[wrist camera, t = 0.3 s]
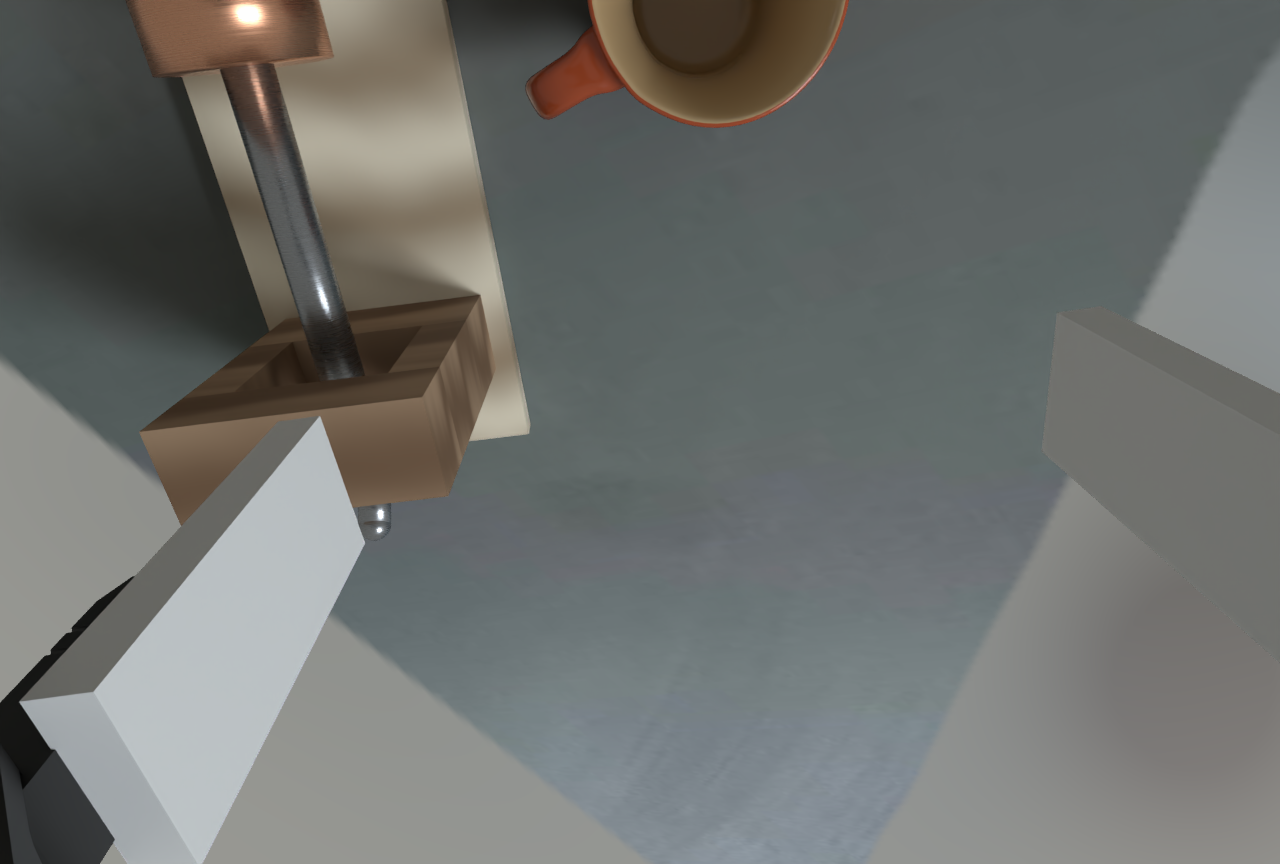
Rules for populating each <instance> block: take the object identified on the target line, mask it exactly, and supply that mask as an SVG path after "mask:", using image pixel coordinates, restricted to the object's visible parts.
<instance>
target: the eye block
mask: <svg viewBox="0 0 1280 864" xmlns="http://www.w3.org/2000/svg"><path fill="white" fill-rule="evenodd" d="M347 315H348V318H349V322H350V325H351V328H352V332H353V335H354V339H355V342H356V345H357V349H358V352H359V356H360V359H361V362H362V366H363V369H364V373H365V376H360V377H352V378H344V379H336V380H327V381H320V379H319V376H318V373H317V370H316V367H315V364H314V361H313V358H312V355H311V351H310V348H309V345H308V342H307V339H306V336H305V333H304V330H303V327H302V324H301V320H300V317H299V318H291V319H285V320H284V321H282V322H281V323H280V324H279V325H277V326H276V327H275V328H273V329H272V330H271V331H269V332H268V333H267V334H266V335H264V336H263V337H262V338H260V339H259V340H258V341H256V342H255V343H254V344H253V345H251V346H250V347H249V348H247V349H246V350H245V351H244V352H242V353H241V354H240V355H238V356H237V357H236V358H234V359H233V360H232V361H231V362H229V363H228V364H227V365H225V366H224V367H223V368H221V369H220V370H219V371H218V372H216V373H215V374H214V375H212V376H211V377H210V378H208V379H207V380H206V381H205V382H203V383H202V384H201V385H199V386H198V387H197V388H196V389H194V390H193V391H192V392H190V393H189V394H188V395H186V396H185V397H184V398H183V399H181V400H180V401H179V402H177V403H176V404H175V405H173V406H172V407H171V408H170V409H168V410H167V411H166V412H164V413H163V414H162V415H161V416H159V417H158V418H157V419H155V420H154V421H153V422H151V423H150V424H149V425H148V426H146V427H145V428H144V429H142V430H141V431H140V432H139V433H140V435H141V437H142V439H143V442H144V444H145V446H146V448H147V451H148V453H149V455H150V457H151V460H152V462H153V464H154V466H155V468H156V471H157V473H158V475H159V477H160V480H161V482H162V484H163V486H164V489H165V491H166V493H167V495H168V497H169V500H170V502H171V504H172V506H173V509H174V511H175V513H176V515H177V517H178V520H179V522H180V524H181V526H182V525H183V524H184V523H185V522H186V521H187V520H188V518H189V517H190V516H191V515H192V514H193V513H194V512H195V511H196V510H197V509H198V508H199V507H200V505H201V504H202V503H203V502H204V501H205V500H206V499H207V498H208V497H209V496H210V495H211V494H212V493H213V491H214V490H215V489H216V488H217V487H218V486H219V485H220V484H221V483H222V482H223V481H224V480H225V478H226V477H227V476H228V475H229V474H230V473H231V472H232V471H233V470H234V469H235V468H236V467H237V465H238V464H239V463H240V462H241V461H242V460H243V459H244V458H245V457H246V456H247V455H248V454H249V453H250V451H251V450H252V449H253V448H254V447H255V446H256V445H257V444H258V443H259V442H260V441H261V440H262V438H263V437H264V436H265V435H266V434H267V433H268V432H269V431H270V430H271V429H272V428H273V427H274V425H275V424H276V423H277V422H279V421H286V420H293V419H300V418H308V417H315V416H320V417H321V420H322V423H323V426H324V428H325V431H326V434H327V437H328V440H329V443H330V445H331V448H332V451H333V454H334V457H335V460H336V462H337V465H338V468H339V471H340V474H341V477H342V479H343V482H344V485H345V488H346V491H347V494H348V496H349V499H350V502H351V505H352V508H354V507H362V506H370V505H379V504H387V503H395V502H403V501H412V500H420V499H428V498H436V497H445V496H448V495H449V493H450V490H451V487H452V485H453V482H454V479H455V477H456V474H457V471H458V469H459V466H460V463H461V461H462V458H463V455H464V453H465V450H466V447H467V445H468V442H469V439H470V437H471V434H472V431H473V429H474V426H475V423H476V421H477V418H478V416H479V413H480V410H481V408H482V405H483V402H484V400H485V397H486V394H487V392H488V389H489V386H490V384H491V381H492V378H493V376H494V373H495V370H496V365H495V361H494V356H493V351H492V347H491V342H490V337H489V332H488V328H487V323H486V318H485V314H484V309H483V304H482V299H481V295H475V296H467V297H459V298H451V299H443V300H435V301H427V302H419V303H411V304H403V305H395V306H387V307H379V308H371V309H363V310H355V311H347Z"/></svg>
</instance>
